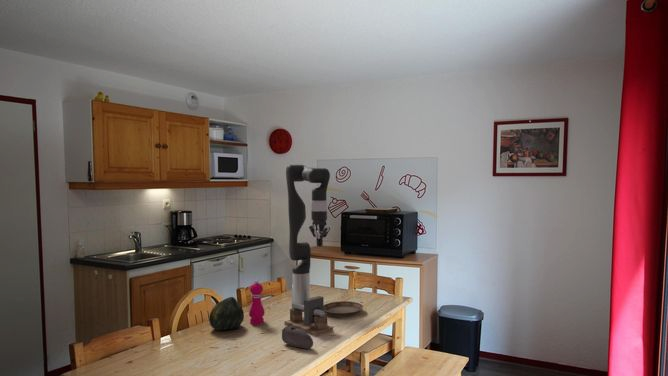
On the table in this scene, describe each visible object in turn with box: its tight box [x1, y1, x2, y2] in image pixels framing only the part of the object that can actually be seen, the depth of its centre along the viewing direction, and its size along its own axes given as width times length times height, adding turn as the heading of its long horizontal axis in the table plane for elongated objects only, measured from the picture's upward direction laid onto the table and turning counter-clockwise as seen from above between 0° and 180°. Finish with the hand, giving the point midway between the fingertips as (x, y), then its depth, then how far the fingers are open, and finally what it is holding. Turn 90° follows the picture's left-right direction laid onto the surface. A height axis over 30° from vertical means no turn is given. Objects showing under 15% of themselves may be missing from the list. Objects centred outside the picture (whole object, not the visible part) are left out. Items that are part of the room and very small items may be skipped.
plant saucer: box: [324, 300, 364, 319], centre depth 221 cm, size 21×21×3 cm
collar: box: [303, 295, 325, 325], centre depth 196 cm, size 3×9×10 cm, turn 134°
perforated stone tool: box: [281, 325, 314, 349], centre depth 176 cm, size 15×5×7 cm, turn 52°
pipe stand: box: [283, 307, 334, 337], centre depth 199 cm, size 22×10×7 cm, turn 44°
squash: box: [208, 296, 245, 331], centre depth 199 cm, size 14×15×15 cm
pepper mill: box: [248, 279, 265, 325], centre depth 207 cm, size 7×7×20 cm
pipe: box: [291, 302, 327, 318], centre depth 199 cm, size 20×3×3 cm, turn 44°
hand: (319, 246), depth 210 cm, fingers closed
